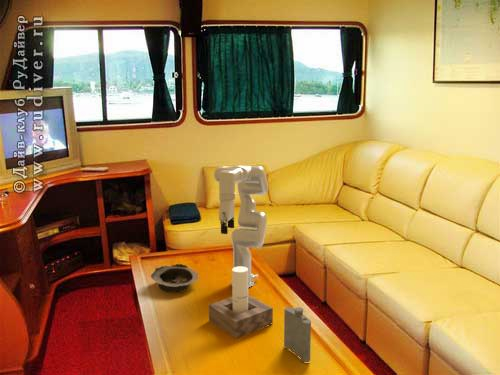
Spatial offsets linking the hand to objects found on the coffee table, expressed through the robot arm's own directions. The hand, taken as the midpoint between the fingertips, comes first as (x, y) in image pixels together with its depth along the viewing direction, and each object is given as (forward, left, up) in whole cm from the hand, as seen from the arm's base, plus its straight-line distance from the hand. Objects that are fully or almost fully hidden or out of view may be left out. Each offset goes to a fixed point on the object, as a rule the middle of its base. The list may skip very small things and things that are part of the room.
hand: (227, 230), depth 242 cm
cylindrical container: (+7, +19, -38) cm, 42 cm away
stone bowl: (+10, -35, -39) cm, 53 cm away
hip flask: (+5, +55, -39) cm, 67 cm away
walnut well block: (+7, +19, -38) cm, 43 cm away
